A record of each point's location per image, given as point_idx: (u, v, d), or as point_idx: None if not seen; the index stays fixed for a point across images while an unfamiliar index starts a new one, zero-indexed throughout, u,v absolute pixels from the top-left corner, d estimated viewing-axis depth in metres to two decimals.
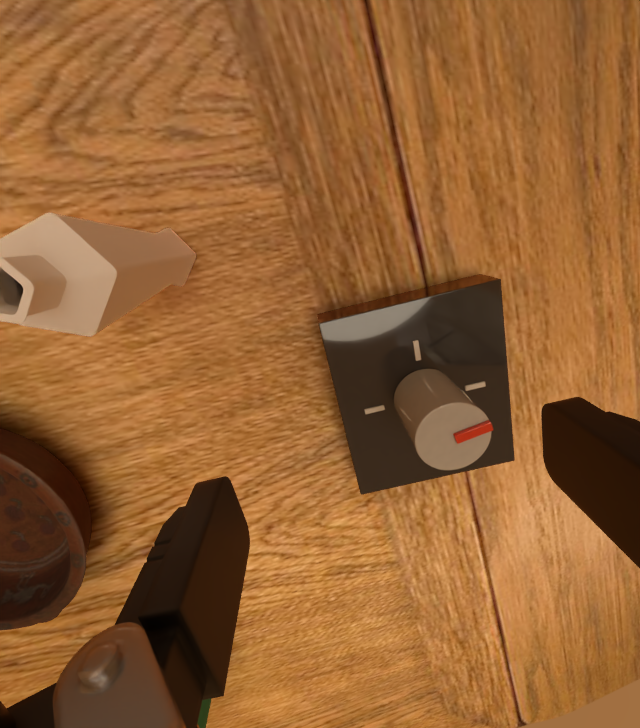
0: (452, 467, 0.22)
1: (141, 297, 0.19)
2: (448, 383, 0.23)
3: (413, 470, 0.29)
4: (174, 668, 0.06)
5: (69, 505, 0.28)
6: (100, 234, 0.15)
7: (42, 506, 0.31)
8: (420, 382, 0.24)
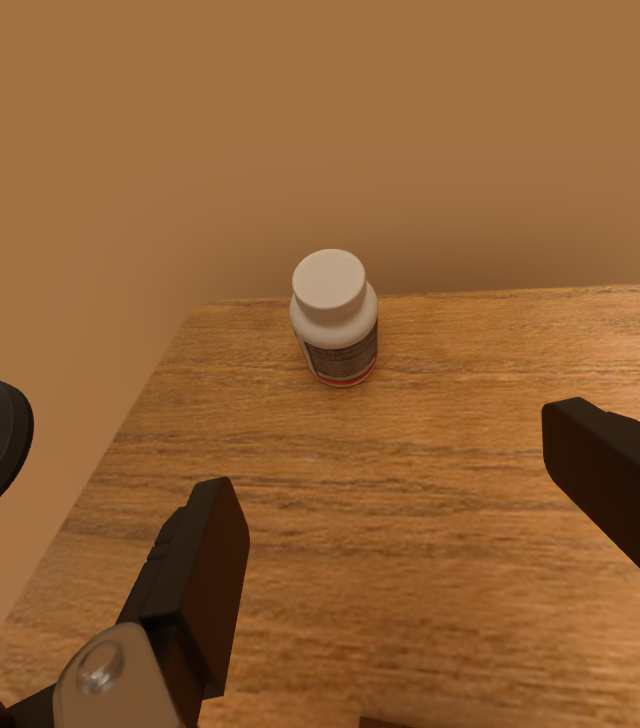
0: None
1: None
2: None
3: None
4: (174, 668, 0.06)
5: None
6: None
7: None
8: None
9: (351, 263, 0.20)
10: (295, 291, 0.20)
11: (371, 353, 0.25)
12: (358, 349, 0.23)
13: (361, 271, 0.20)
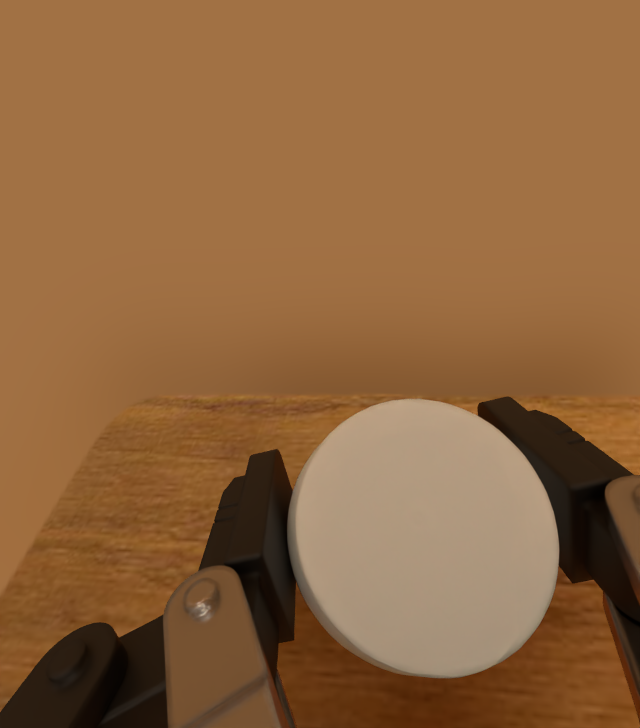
0: None
1: None
2: None
3: None
4: (259, 607, 0.06)
5: None
6: None
7: None
8: None
9: (497, 466, 0.06)
10: (307, 573, 0.06)
11: None
12: None
13: (542, 505, 0.06)
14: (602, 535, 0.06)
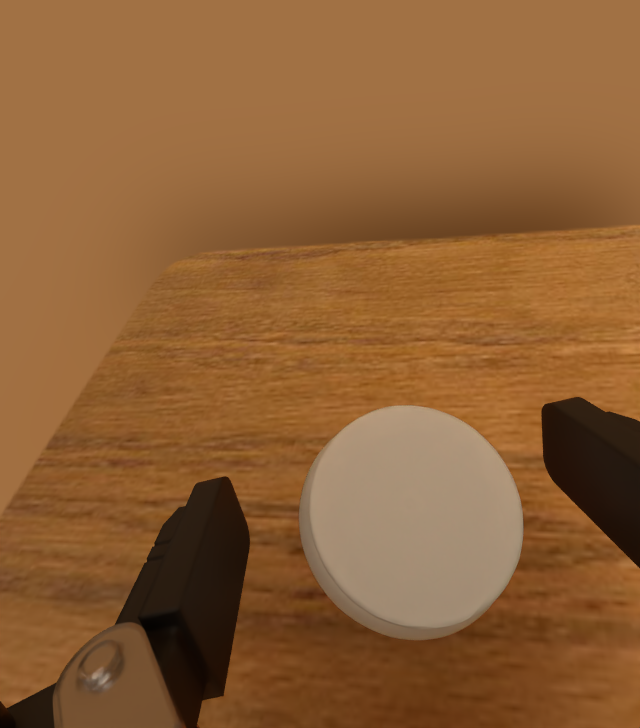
0: None
1: None
2: None
3: None
4: (174, 668, 0.06)
5: None
6: None
7: None
8: None
9: (475, 461, 0.07)
10: (318, 548, 0.07)
11: None
12: None
13: (511, 493, 0.07)
14: None
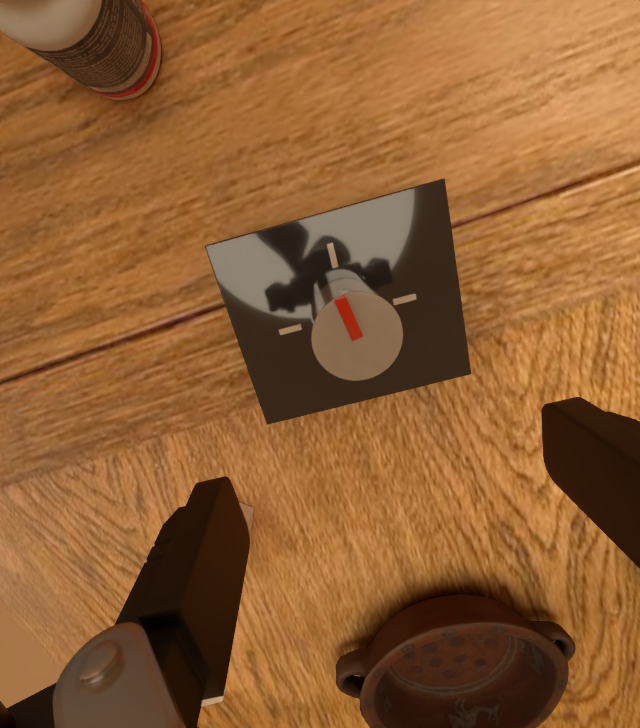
0: (399, 333, 0.18)
1: None
2: (312, 315, 0.20)
3: (444, 316, 0.23)
4: (174, 668, 0.06)
5: (442, 621, 0.31)
6: None
7: None
8: None
9: None
10: None
11: (136, 30, 0.18)
12: (107, 33, 0.16)
13: None
14: None
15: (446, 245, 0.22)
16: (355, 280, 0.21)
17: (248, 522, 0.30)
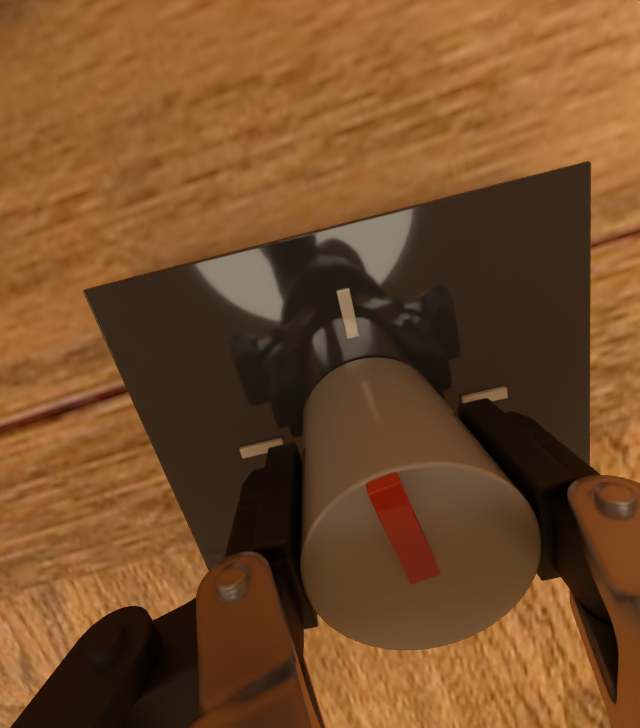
0: (531, 556, 0.07)
1: None
2: (303, 454, 0.09)
3: (555, 425, 0.12)
4: (287, 593, 0.06)
5: None
6: None
7: None
8: None
9: None
10: None
11: None
12: None
13: None
14: (566, 533, 0.06)
15: (576, 297, 0.11)
16: (395, 368, 0.10)
17: None
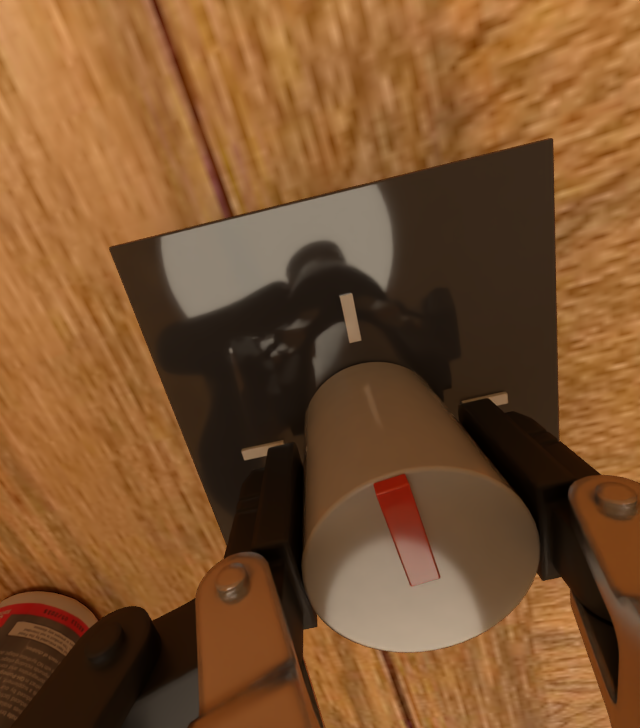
0: (529, 565, 0.07)
1: None
2: (307, 453, 0.09)
3: (394, 224, 0.10)
4: (286, 593, 0.06)
5: None
6: None
7: None
8: None
9: None
10: None
11: None
12: None
13: None
14: (566, 533, 0.06)
15: (239, 232, 0.10)
16: (400, 373, 0.11)
17: None
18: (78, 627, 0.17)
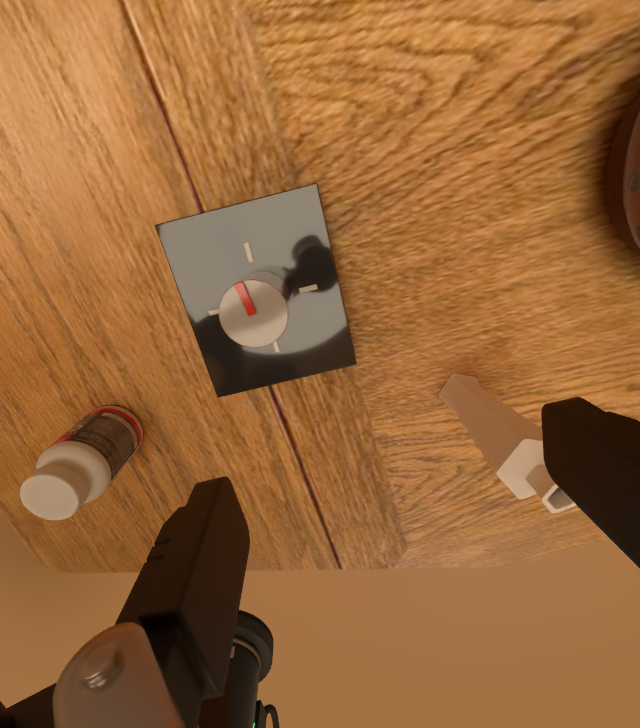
0: (284, 313, 0.24)
1: (486, 417, 0.28)
2: None
3: (262, 215, 0.27)
4: (174, 668, 0.06)
5: (622, 187, 0.27)
6: None
7: None
8: None
9: (28, 487, 0.26)
10: (72, 513, 0.27)
11: (99, 422, 0.31)
12: (99, 441, 0.30)
13: (31, 479, 0.26)
14: None
15: (203, 219, 0.27)
16: (266, 272, 0.27)
17: (461, 381, 0.34)
18: (132, 421, 0.34)
